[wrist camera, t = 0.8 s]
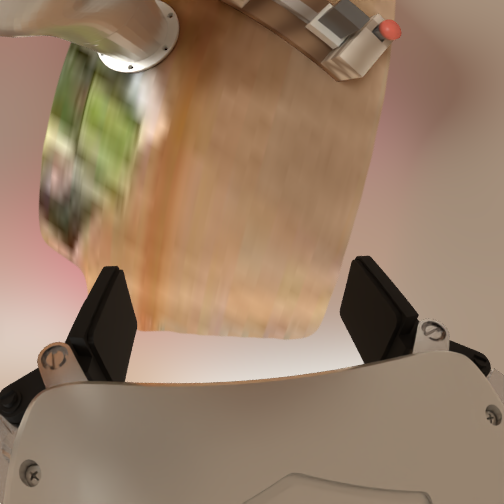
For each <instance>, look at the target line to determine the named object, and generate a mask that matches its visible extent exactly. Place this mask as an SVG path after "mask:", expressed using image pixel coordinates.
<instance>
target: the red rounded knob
mask: <svg viewBox="0 0 504 504" xmlns="http://www.w3.org/2000/svg"><path fill="white" fill-rule="evenodd" d="M372 33H373V34H374V35H375V36H376V37H377V38H378V39H379V40H382V39H385V38H386V39H388V40H395V39H398V38H400V36H401V29H400V27H399V25H398V24H397V23H396V22H394V21H393V20H385V21H382V22H381V23H380V24H379V27H377V28H375V29H374V30H373V31H372Z"/></svg>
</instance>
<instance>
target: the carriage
mask: <svg viewBox="0 0 504 504" xmlns="http://www.w3.org/2000/svg"><path fill="white" fill-rule="evenodd" d="M369 20H370V18H369V17H368V16H367V15H366V14H364V13H363V12H362V11H361V10H360V9H359V8H358V7H356V6H355V5H354V4H353V3H352V2H350V1H349V0H340V1H339V2H338V3H336V4H335V5H334V6H332V5H331V4H330V3H329V4H328V5H327V6H326V7H325V8H323V9H322V10H321V11H320V12H319V13H318V14H317V15H316V16H315V17H314V19H313V20H312V21H311V22H310V23H308V24H307V25H306V26H305V27H306V28H307V29H308V30H310V31H311V32H312V33H314V34H315V35H316V36H317V37H319V38H320V39H321V40H322V41H324V42H325V43H326V44H327V45H329V46H330V47H331V48H332V49H334V48H337V47H339V46H340V44H341V43H342V42H343V41H344V40H345V39H346V38H347V37H348V36H349V35H350V34H352V33H354V32H356V31H358V30H360V29H361V28H362V27H363V26H364V25H365V24H366V23H367V22H368V21H369Z"/></svg>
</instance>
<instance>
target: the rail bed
mask: <svg viewBox="0 0 504 504" xmlns="http://www.w3.org/2000/svg"><path fill="white" fill-rule="evenodd" d="M221 1H222V2H224V3H226V4H228V5H230V6H232V7H233V8H235V9H237V10H239V11H241V12H242V13H244V14H246V15H247V16H249V17H251V18H252V19H254V20H255V21H257V22H259V23H260V24H262V25H263V26H265V27H266V28H268V29H270V30H271V31H273V32H274V33H275V34H277V35H278V36H280V37H281V38H283V39H284V40H286V41H287V42H288V43H290V44H291V45H292V46H294V47H295V48H297V49H298V50H299V51H301V52H302V53H303V54H304V55H306V56H307V57H308V58H310V59H311V60H312V61H313V62H315V63H316V64H317V65H318V66H320V67H321V68H322V69H323V70H324V71H326V72H327V73H328V74H329V75H330V76H331V77H333V78H334V79H335V80H336V81H342V80H348V79H354V78H361V77H363V76H364V75H365V74H366V73H367V71H368V70H369V69H370V68H371V67H372V65H373V64H374V63H375V62H376V61H377V59H378V58H379V57H380V56H381V55H382V53H383V52H384V51H385V50H386V49H387V47H388V46H389V45H390V44H391V43H392V42H393V40H388V39H386V38H385V39H382V40H379V39H378V38H377V37H376V36H375V35H374V34H373V33H372V31H373V30H374V29H375V28H377V27H379V24H380V23H381V22H382V21H385V19H384V18H382V17H381V16H380V15H379V14H376V15H374V16H372V17H369V18H370V20H369V21H368V22H367V23H366V24H365V25H364V26H363V27H362V28H361V29H360V30H358V31H356V32H354V33H352V34H350V35H349V36H348V37H347V38H346V39H345V40H344V41H343V42H342V43H341V44H340V46H339V47H337V48H334V49H332V48H331V47H330V46H329V45H327V44H326V43H325V42H324V41H322V40H321V39H320V38H319V37H317V36H316V35H315V34H314V33H312V32H311V31H310V30H308V29H307V28H306V27H305V26H306V25H307V24H308V23H310V22H311V21H312V20H313V19H314V17H315V16H316V15H317V14H318V13H319V12H320V11H321V10H322V9H323V8H325V7H326V6H327V5H328V4H329V3H330V2H328V1H327V0H221ZM330 4H331V3H330ZM331 5H332V4H331ZM332 6H334V5H332Z"/></svg>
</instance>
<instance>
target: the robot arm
mask: <svg viewBox="0 0 504 504" xmlns="http://www.w3.org/2000/svg"><path fill="white" fill-rule="evenodd" d="M170 16H173V17H172V18H170ZM179 30H180V28H179V20H178V17H177V15H176V13H175V11H174V10H173V9H172V8H171V7H170V6H169V5H167V4H166V3H164V2H162V1H160V0H0V36H2V37H31V36H53V37H57V38H61V39H64V40H67V41H70V42H72V43H75V44H78V45H81V46H83V47H86V48H88V49H91V50H94V51H96V52H98V55H99V57H100V59H101V61H102V62H103V63H104V64H105V65H106V66H107V67H109V68H110V69H112V70H115V71H118V72H122V73H136V72H140V71H144V70H147V69H149V68H151V67H153V66H155V65H156V64H158V63H159V62H161V61H162V60H163V59H164V58H165V57H167V55H168V54H169V53H170V52H171V51H172V49H173V47H174V46H175V44H176V42H177V39H178V36H179ZM165 48H168V49H167V50H166V51H165ZM131 67H134V68H133V69H131ZM340 316H341V318H342V320H343V322H344V324H345V326H346V328H347V330H348V332H349V334H350V335H351V338H352V340H353V342H354V343H355V345H356V348H357V350H358V352H359V353H360V355H361V358H362V360H363V361H364V364H362V365H358V366H352V367H347V368H341V369H337V370H330V371H325V372H317V373H310V374H303V375H297V376H288V377H279V378H270V379H259V380H247V381H234V382H213V383H133V382H125V378H126V373H127V368H128V364H129V359H130V355H131V351H132V346H133V342H134V338H135V334H136V330H137V320H136V317H135V313H134V310H133V306H132V303H131V299H130V295H129V291H128V288H127V284H126V280H125V276H124V272H123V270H119V268H118V266H106V267H104V268H103V269H102V271H101V273H100V275H99V276H98V278H97V280H96V282H95V284H94V286H93V288H92V289H91V291H90V293H89V295H88V297H87V299H86V300H85V302H84V304H83V306H82V307H81V309H80V312H79V314H78V316H77V318H76V320H75V322H74V324H73V326H72V328H71V331H70V333H69V335H68V337H67V339H66V341H65V343H62V342H55V343H52V344H49V345H48V346H46V347H45V348H44V349H43V350H42V351H41V352H40V354H39V356H38V360H37V363H38V367H39V368H37V369H35V370H34V371H32V372H30V373H29V374H27V375H25V376H24V377H22V378H20V379H18V380H17V381H15V382H13V383H12V384H10V385H8V386H7V387H5V388H4V389H3V390H2V391H1V392H0V503H1V504H504V375H503V374H502V373H500V372H499V371H497V370H496V369H495V368H494V369H493V370H491V367H490V362H489V360H488V359H487V358H486V356H485V355H484V354H482V353H480V352H478V351H475V350H473V349H470V348H468V347H465V346H463V345H460V344H458V343H455V342H453V341H450V340H449V338H450V335H449V331H448V330H447V328H446V327H445V326H444V325H443V324H442V323H440V322H439V321H437V320H434V319H423V320H421V321H420V322H419V321H418V319H417V318H418V313H417V312H416V311H415V309H414V308H413V307H412V306H411V304H410V303H409V302H408V301H407V299H406V298H405V297H404V296H403V294H402V293H401V292H400V291H399V289H398V288H397V287H396V286H395V285H394V283H393V282H392V281H391V280H390V279H389V277H388V276H387V275H386V274H385V273H384V272H383V270H382V269H381V268H380V267H379V266H378V265H377V264H376V262H375V261H374V260H373V259H372V258H371V257H370V256H357V257H356V258H355V260H353V261H352V263H351V267H350V271H349V275H348V280H347V284H346V288H345V292H344V296H343V300H342V304H341V308H340Z"/></svg>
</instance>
